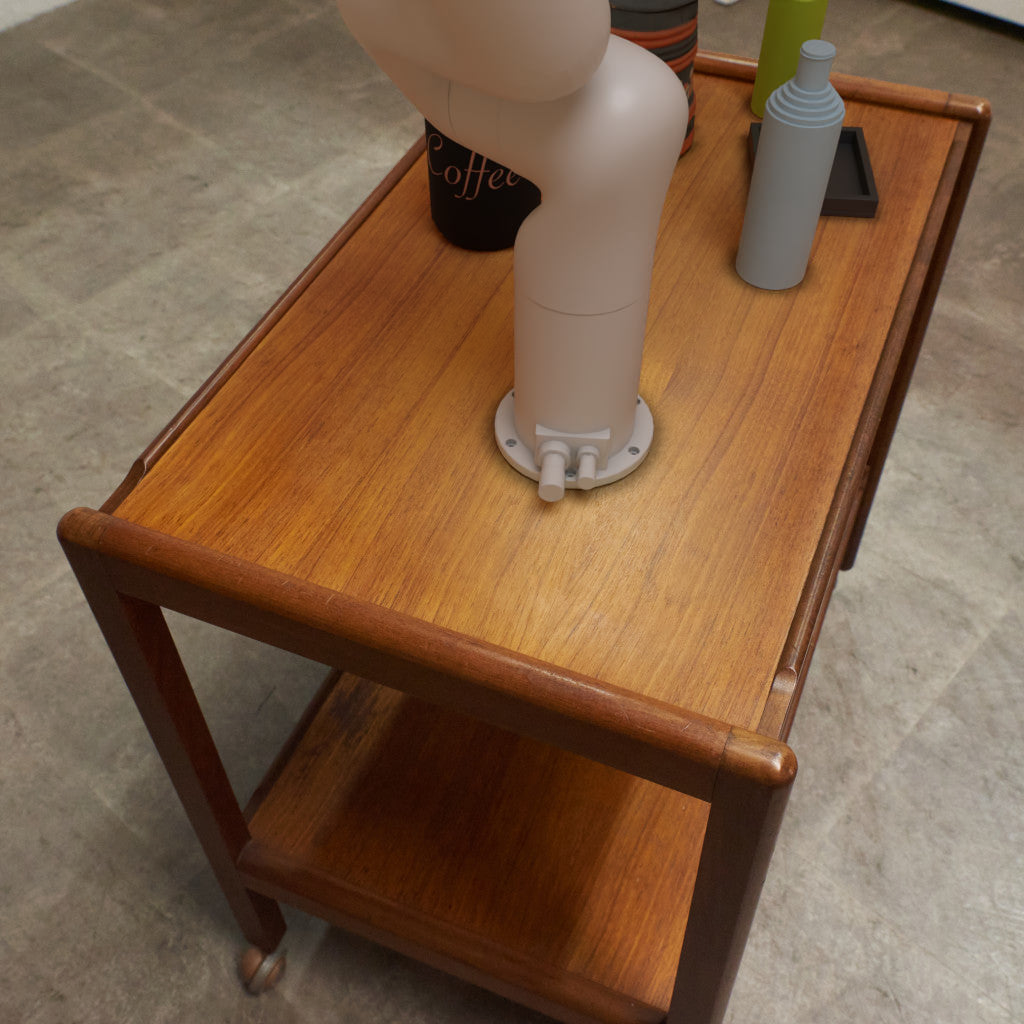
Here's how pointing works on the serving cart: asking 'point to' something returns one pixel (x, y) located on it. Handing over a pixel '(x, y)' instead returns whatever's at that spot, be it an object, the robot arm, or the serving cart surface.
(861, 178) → the tray
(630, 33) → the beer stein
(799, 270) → the bottle
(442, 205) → the coffee jar
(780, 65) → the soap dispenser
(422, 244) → the serving cart surface
